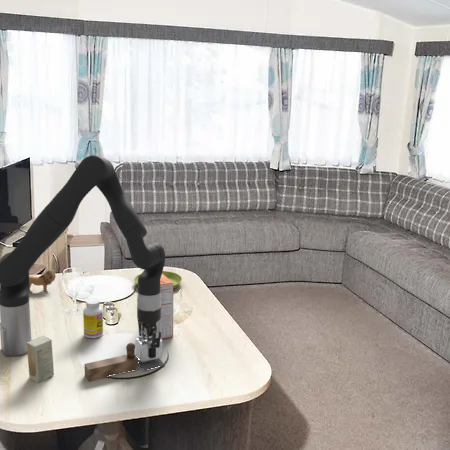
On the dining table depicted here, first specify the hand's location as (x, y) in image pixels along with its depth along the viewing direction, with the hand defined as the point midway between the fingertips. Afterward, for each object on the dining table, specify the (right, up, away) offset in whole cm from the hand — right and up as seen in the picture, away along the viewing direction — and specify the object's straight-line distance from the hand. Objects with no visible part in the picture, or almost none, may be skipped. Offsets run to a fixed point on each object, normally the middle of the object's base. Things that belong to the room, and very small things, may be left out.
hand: (149, 353), depth 191 cm
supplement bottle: (-22, +2, +19) cm, 29 cm away
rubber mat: (0, -3, +1) cm, 3 cm away
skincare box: (-32, -5, -10) cm, 34 cm away
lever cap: (0, -1, 0) cm, 1 cm away
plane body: (-11, -5, -6) cm, 13 cm away
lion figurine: (-53, +14, +56) cm, 79 cm away
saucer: (-5, +15, +67) cm, 69 cm away
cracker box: (0, +3, +23) cm, 24 cm away
